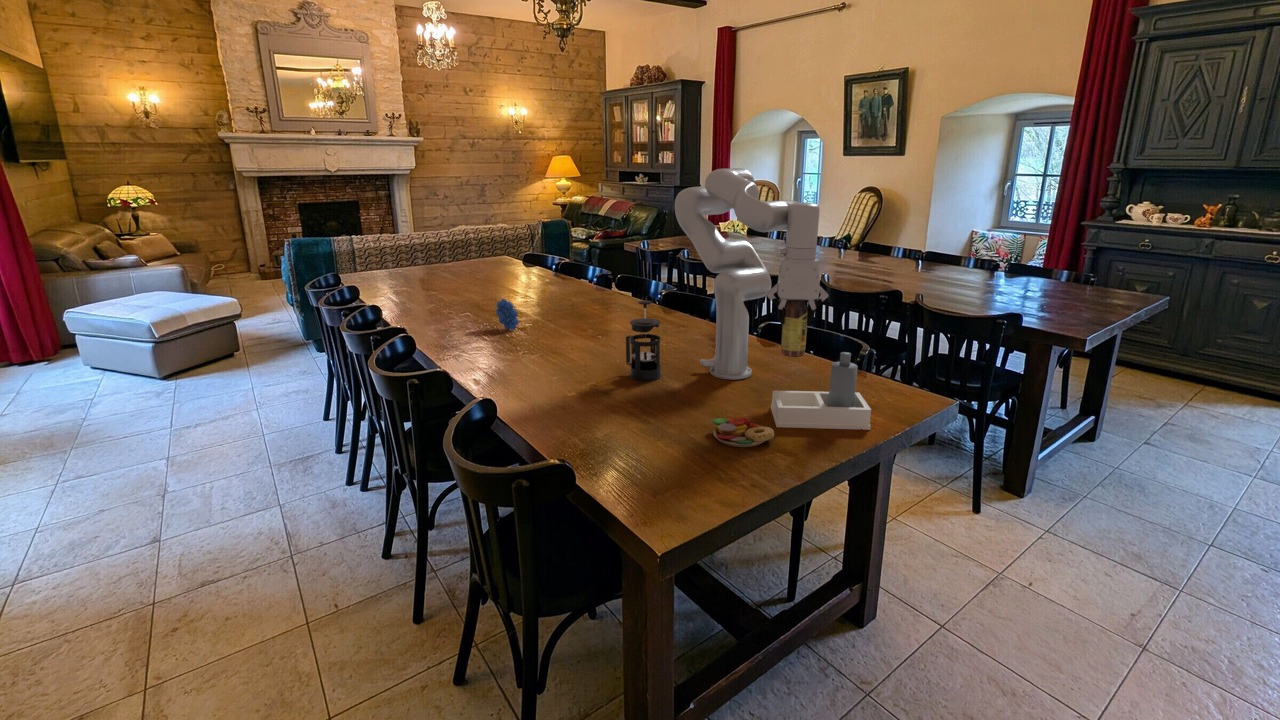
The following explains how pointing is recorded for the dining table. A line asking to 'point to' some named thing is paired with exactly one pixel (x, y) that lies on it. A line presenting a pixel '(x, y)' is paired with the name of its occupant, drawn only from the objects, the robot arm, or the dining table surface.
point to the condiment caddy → (825, 403)
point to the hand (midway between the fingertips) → (795, 322)
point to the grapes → (507, 314)
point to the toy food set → (740, 432)
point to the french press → (645, 363)
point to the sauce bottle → (794, 328)
